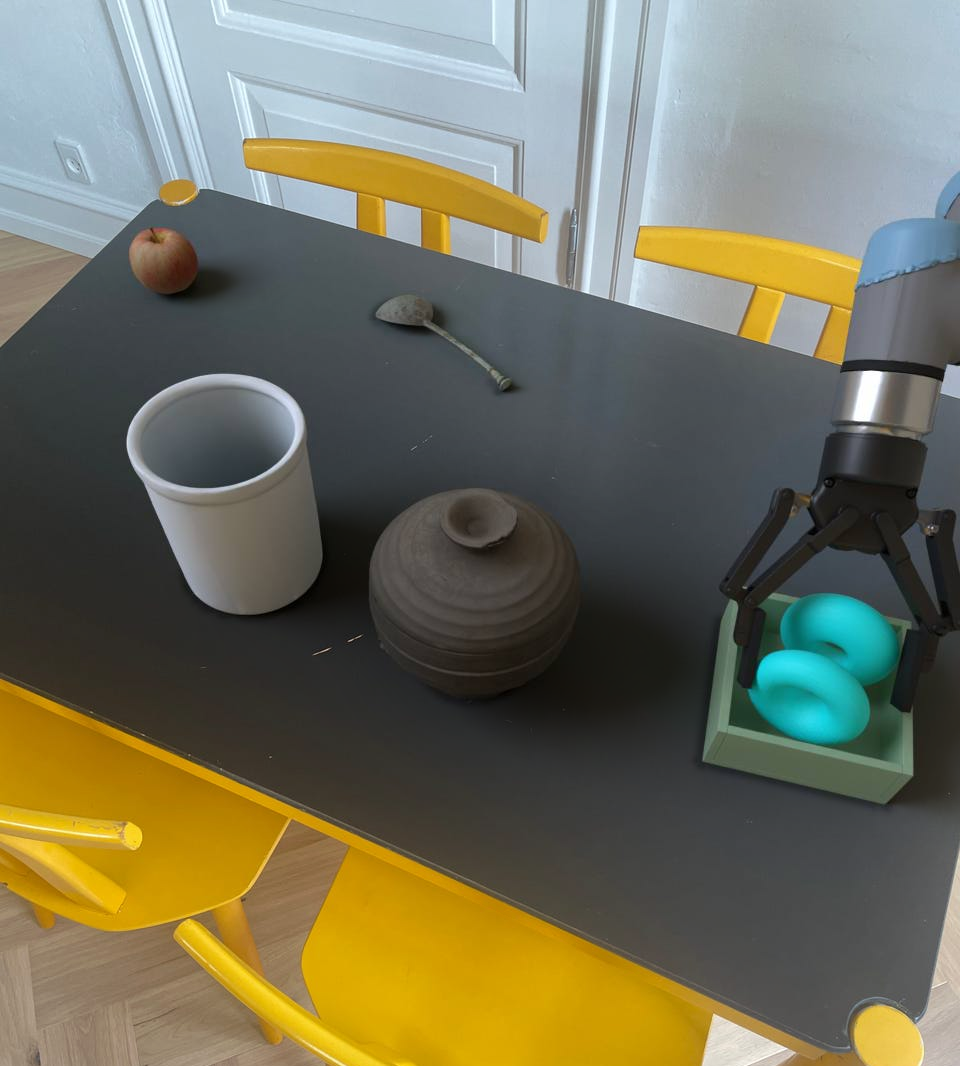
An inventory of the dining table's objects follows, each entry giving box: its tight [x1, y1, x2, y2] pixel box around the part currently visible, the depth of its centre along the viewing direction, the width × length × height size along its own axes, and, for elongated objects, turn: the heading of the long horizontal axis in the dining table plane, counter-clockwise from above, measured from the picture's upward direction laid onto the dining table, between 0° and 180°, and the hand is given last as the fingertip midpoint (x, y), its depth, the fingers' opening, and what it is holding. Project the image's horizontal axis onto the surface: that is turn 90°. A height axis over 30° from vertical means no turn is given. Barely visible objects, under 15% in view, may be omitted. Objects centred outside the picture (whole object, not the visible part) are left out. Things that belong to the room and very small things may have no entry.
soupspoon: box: [375, 294, 512, 391], centre depth 107 cm, size 22×3×7 cm
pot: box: [368, 487, 581, 701], centre depth 76 cm, size 18×18×20 cm
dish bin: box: [702, 585, 914, 805], centre depth 78 cm, size 16×16×6 cm
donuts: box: [748, 592, 900, 745], centre depth 75 cm, size 10×10×10 cm
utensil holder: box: [126, 373, 323, 616], centre depth 82 cm, size 15×15×18 cm
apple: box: [128, 226, 199, 295], centre depth 111 cm, size 8×8×8 cm
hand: (821, 696), depth 74 cm, fingers closed on donuts, 12 cm apart
